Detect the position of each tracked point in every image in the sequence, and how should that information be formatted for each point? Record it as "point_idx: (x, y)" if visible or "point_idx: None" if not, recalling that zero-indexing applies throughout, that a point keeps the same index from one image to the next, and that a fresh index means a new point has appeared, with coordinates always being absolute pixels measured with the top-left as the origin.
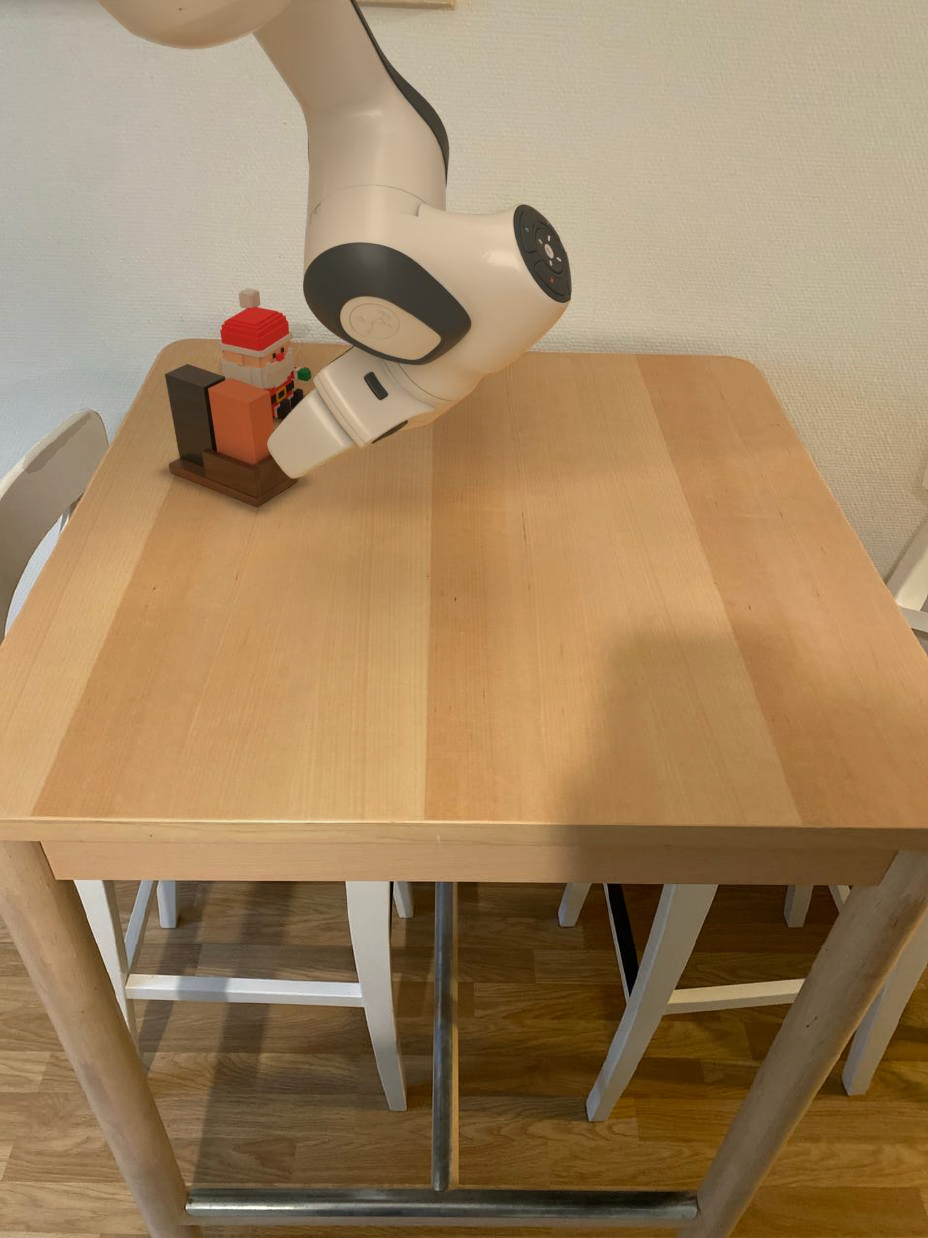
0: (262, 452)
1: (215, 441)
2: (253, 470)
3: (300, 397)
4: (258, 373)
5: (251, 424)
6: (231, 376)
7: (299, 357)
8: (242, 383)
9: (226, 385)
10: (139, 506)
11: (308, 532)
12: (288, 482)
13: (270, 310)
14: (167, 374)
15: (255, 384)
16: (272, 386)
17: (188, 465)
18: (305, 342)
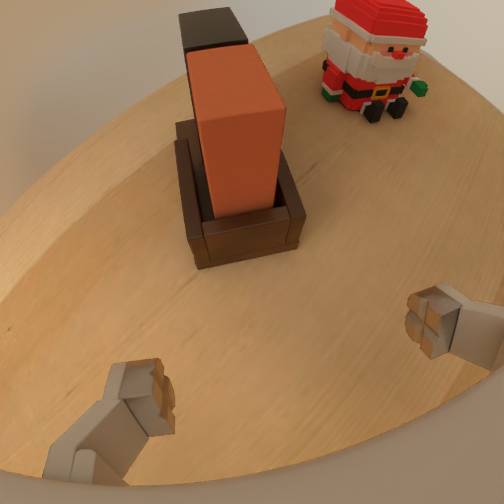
0: (236, 204)
1: None
2: (188, 238)
3: (401, 108)
4: (358, 58)
5: (207, 162)
6: (330, 47)
7: (425, 69)
8: (256, 62)
9: (222, 56)
10: (102, 172)
11: (213, 386)
12: (276, 250)
13: (411, 4)
14: (179, 15)
15: (350, 68)
16: (372, 80)
17: (188, 136)
18: (437, 62)
